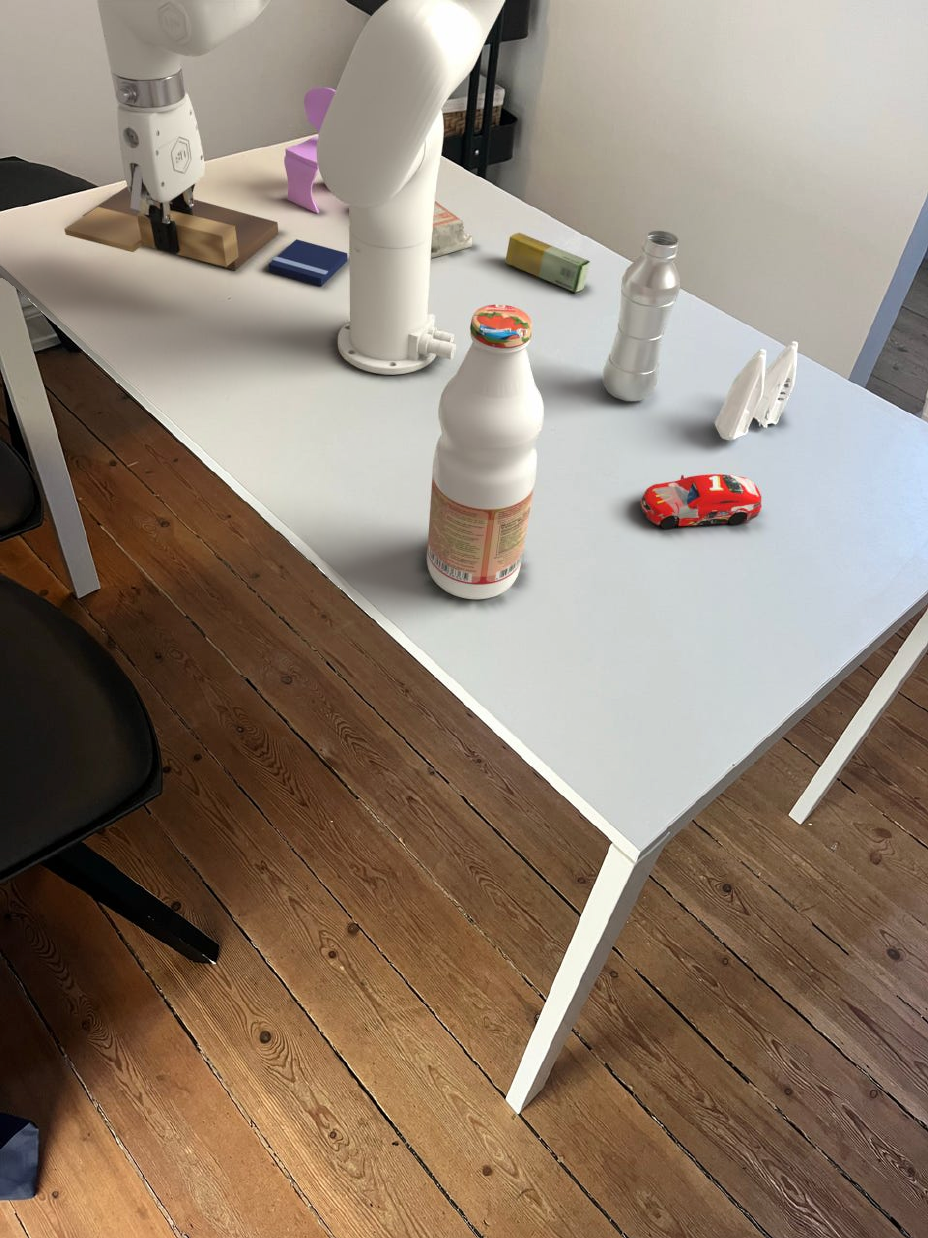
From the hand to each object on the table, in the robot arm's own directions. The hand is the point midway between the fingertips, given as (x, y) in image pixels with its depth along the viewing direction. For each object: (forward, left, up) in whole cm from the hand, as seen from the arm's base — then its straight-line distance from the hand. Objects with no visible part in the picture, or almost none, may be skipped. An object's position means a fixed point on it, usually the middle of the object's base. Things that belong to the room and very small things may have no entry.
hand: (176, 242), depth 123 cm
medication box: (-40, -29, -8) cm, 50 cm away
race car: (-71, +11, -8) cm, 73 cm away
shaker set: (-73, -7, -8) cm, 74 cm away
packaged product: (-18, -32, -8) cm, 38 cm away
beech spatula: (+3, 0, -1) cm, 3 cm away
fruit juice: (-52, +30, -8) cm, 61 cm away
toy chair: (-2, -34, -8) cm, 35 cm away
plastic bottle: (-58, -7, -8) cm, 59 cm away
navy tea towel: (-10, -15, -7) cm, 20 cm away
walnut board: (+10, -15, -7) cm, 19 cm away
